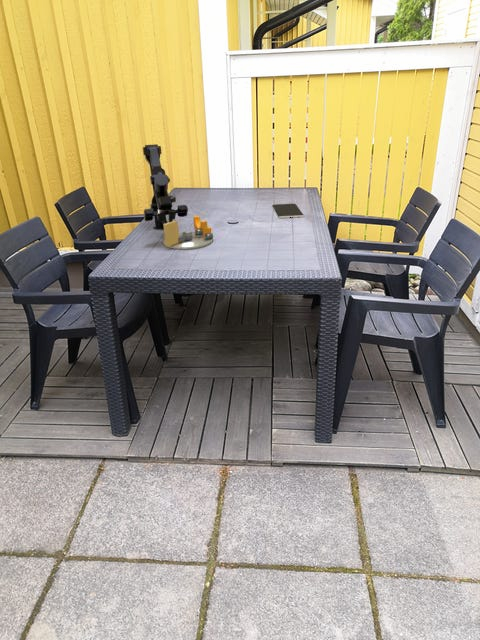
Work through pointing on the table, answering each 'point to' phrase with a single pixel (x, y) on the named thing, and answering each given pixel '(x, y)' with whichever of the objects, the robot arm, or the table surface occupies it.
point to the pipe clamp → (201, 225)
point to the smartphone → (287, 211)
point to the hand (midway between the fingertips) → (169, 229)
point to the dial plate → (193, 241)
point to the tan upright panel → (175, 234)
